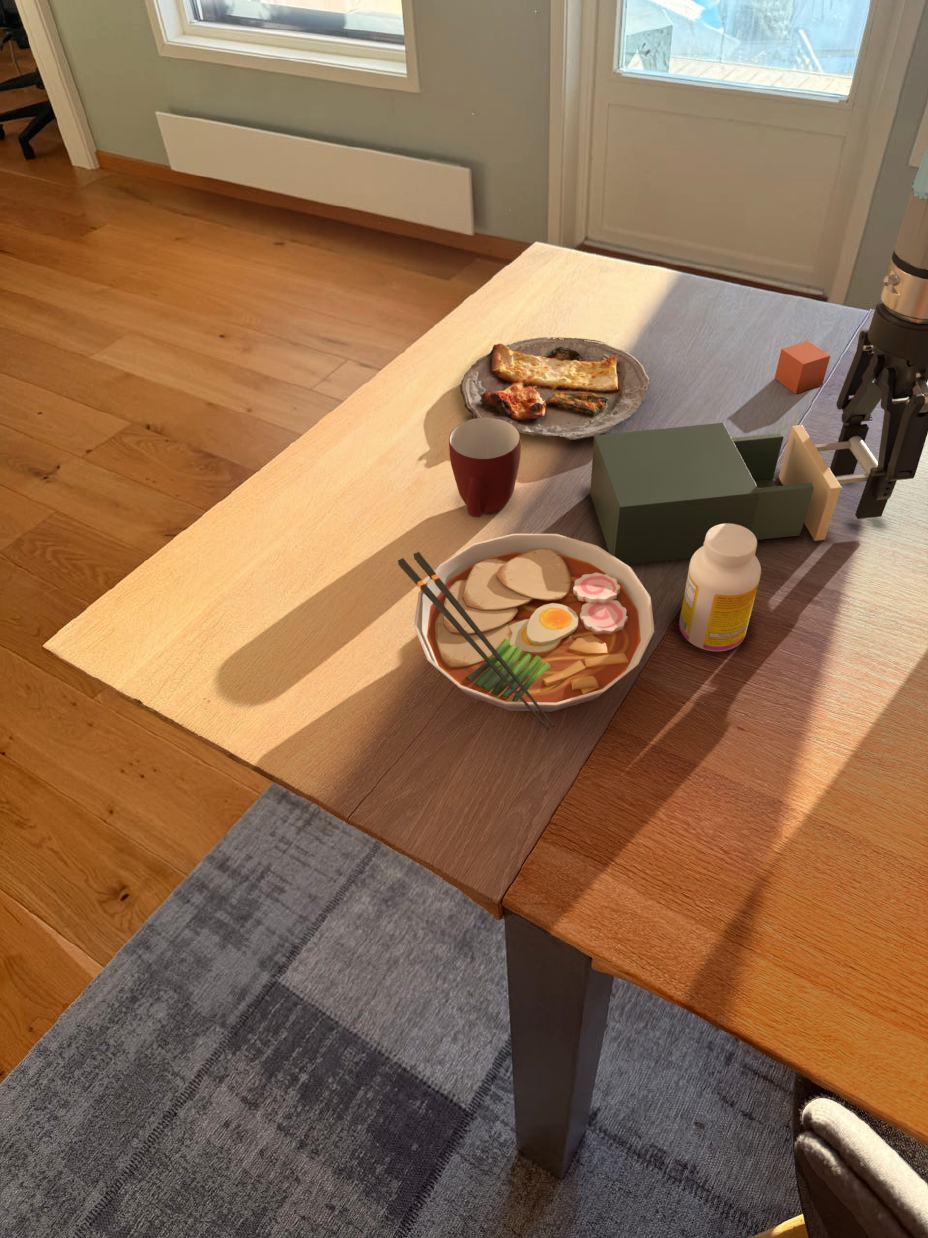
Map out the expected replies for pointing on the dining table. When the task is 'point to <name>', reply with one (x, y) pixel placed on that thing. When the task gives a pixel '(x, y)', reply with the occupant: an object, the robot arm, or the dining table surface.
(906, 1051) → the dining table surface
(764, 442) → the drawer
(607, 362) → the food plate
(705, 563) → the supplement bottle
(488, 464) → the mug
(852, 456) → the robot arm
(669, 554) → the cabinet
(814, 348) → the block
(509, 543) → the ramen bowl
